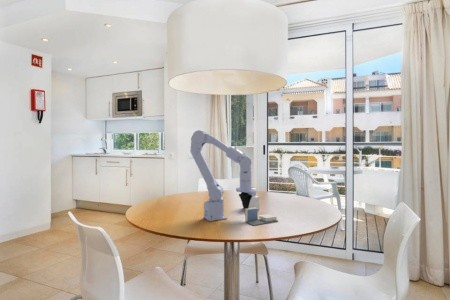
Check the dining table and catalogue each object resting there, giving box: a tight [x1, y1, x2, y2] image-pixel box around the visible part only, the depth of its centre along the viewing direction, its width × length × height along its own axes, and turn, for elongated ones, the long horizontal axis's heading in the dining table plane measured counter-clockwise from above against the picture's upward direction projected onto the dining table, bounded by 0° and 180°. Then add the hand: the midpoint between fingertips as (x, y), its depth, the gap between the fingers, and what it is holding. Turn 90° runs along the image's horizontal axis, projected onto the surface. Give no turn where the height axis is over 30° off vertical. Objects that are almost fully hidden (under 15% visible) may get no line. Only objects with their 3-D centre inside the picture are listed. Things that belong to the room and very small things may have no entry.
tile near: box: [244, 207, 259, 223], centre depth 135 cm, size 6×2×6 cm, turn 119°
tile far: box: [258, 213, 278, 222], centre depth 135 cm, size 6×2×6 cm
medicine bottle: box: [248, 186, 261, 211], centre depth 160 cm, size 7×7×12 cm
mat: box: [245, 218, 279, 227], centre depth 132 cm, size 14×6×1 cm, turn 119°
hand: (245, 208), depth 139 cm, fingers closed
